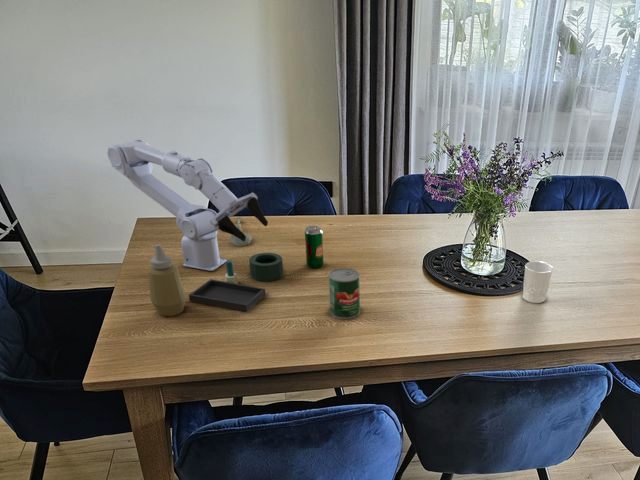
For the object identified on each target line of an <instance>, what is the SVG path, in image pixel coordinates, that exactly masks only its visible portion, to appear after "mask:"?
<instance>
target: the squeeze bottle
mask: <svg viewBox="0 0 640 480" xmlns="http://www.w3.org/2000/svg"><path fill="white" fill-rule="evenodd" d="M149 262H150V266H149V268H148V270H147V275H148V287H149V296H150V297H149V299H150V302H151V303H152V305H153V306H154V309H156V311H157V313H158V314H159V315H161V316H163V317H164V316H165V317H172V316H177V315H179V314H181V313H182V312H184V308H185V303H186V298H187V295H186V292H185V289H184V285H183V282H182V279H181V276H180V272H179V269H178V267H177V266H176V265H175V264H173V261H172V258H171V256H169V255H166V254H165V251H164V249H163V246H162V245H161V244H160V243H157V244H155V245H154V256H153V257H151V258H150V260H149Z"/></svg>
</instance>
